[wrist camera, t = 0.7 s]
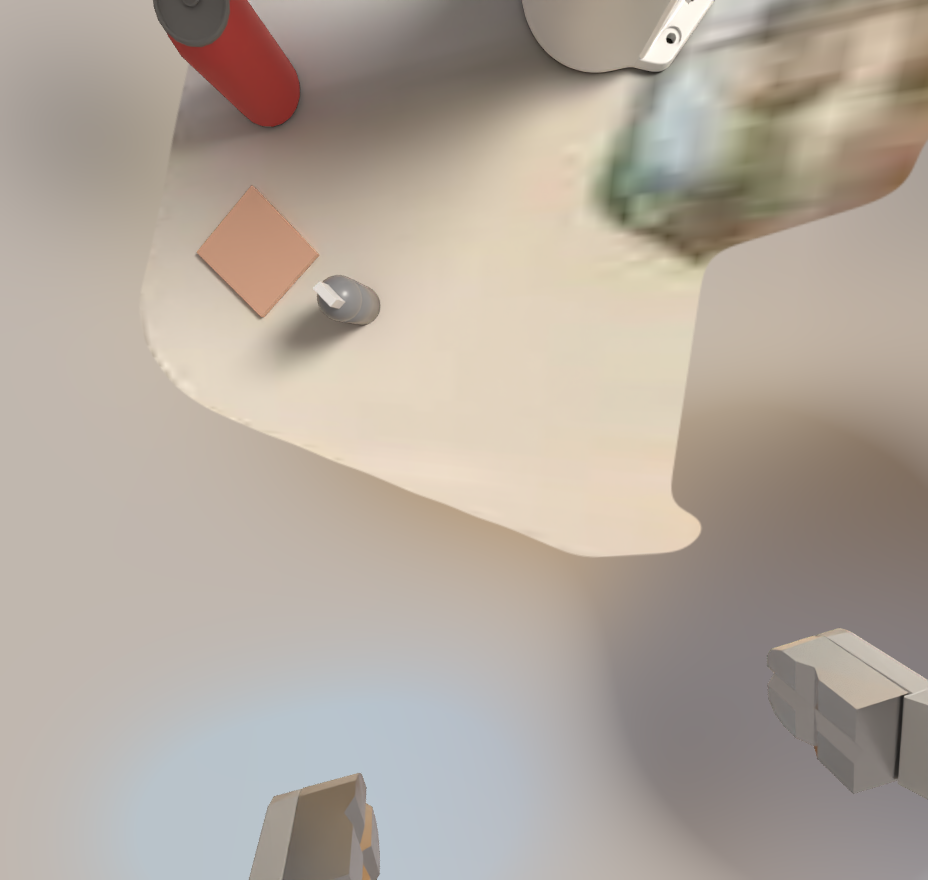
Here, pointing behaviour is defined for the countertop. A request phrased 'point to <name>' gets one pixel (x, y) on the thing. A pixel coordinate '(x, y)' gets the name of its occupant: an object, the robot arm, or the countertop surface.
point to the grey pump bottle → (347, 300)
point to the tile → (257, 252)
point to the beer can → (234, 55)
